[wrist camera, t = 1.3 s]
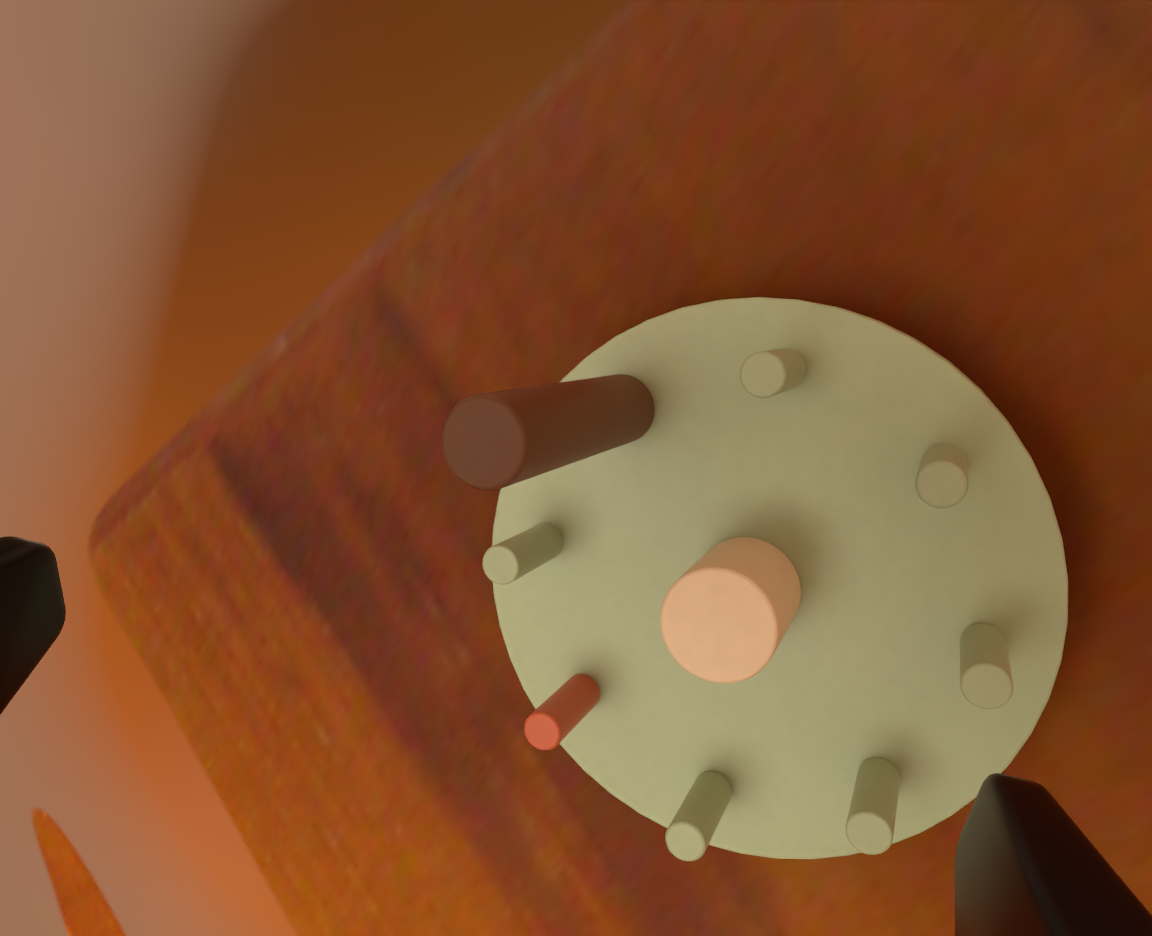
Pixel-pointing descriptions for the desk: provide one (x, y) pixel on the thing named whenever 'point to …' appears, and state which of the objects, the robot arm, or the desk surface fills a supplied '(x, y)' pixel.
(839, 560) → the pegged crank wheel
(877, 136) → the desk surface
